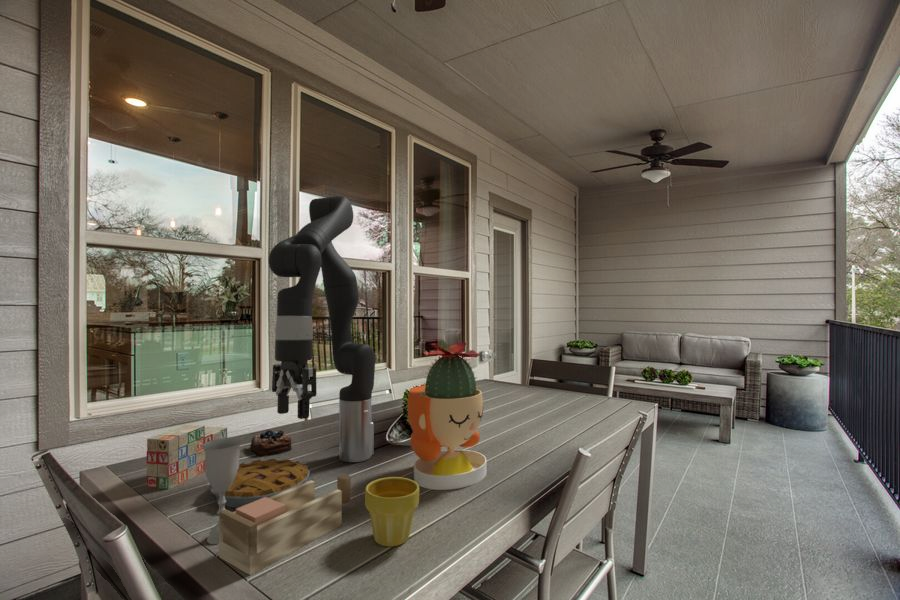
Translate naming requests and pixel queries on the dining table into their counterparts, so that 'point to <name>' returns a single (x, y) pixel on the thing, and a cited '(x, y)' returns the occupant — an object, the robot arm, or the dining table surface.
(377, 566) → the dining table surface
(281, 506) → the pull block
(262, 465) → the pie
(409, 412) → the potted cactus
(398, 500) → the plant pot
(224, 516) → the light wooden box
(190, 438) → the stack of blocks
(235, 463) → the chalice
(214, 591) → the dining table surface
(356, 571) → the dining table surface
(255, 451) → the pastry
